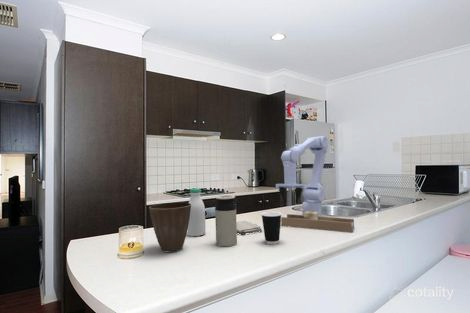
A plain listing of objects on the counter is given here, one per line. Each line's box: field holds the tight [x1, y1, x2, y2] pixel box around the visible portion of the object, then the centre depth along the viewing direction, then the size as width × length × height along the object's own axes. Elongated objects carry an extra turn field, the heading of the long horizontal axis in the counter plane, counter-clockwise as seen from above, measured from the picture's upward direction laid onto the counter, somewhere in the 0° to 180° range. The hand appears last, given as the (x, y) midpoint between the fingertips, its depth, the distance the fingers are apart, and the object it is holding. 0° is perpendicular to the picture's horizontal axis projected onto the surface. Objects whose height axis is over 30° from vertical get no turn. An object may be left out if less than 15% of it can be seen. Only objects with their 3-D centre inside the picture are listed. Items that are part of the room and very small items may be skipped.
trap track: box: [281, 213, 355, 234], centre depth 128 cm, size 31×9×4 cm, turn 60°
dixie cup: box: [260, 211, 282, 245], centre depth 106 cm, size 8×8×11 cm
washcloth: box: [236, 220, 263, 235], centre depth 127 cm, size 12×18×3 cm, turn 29°
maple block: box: [304, 211, 318, 220], centre depth 129 cm, size 5×5×4 cm
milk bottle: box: [187, 187, 206, 237], centre depth 120 cm, size 8×8×20 cm
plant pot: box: [148, 201, 191, 252], centre depth 101 cm, size 15×15×16 cm
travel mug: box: [214, 194, 238, 247], centre depth 106 cm, size 8×8×18 cm
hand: (291, 203), depth 134 cm, fingers open, 5 cm apart
